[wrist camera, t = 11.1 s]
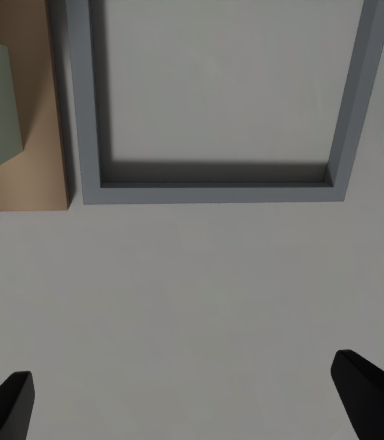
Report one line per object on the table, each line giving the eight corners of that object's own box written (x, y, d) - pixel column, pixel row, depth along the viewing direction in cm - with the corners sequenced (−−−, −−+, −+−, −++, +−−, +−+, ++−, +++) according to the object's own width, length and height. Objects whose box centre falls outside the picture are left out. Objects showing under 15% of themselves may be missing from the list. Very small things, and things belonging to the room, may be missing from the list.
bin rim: (386, -27, 17) (403, -34, 16) (333, 195, 22) (343, 201, 21) (63, -72, 14) (57, -84, 13) (86, 197, 19) (83, 204, 18)
